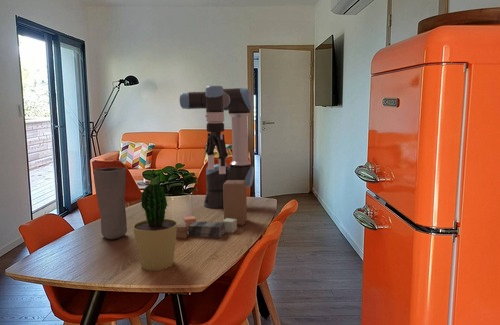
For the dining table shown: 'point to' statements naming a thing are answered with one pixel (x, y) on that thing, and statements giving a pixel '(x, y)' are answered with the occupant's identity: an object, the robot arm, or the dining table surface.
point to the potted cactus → (155, 231)
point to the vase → (111, 201)
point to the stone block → (207, 229)
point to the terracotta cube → (189, 220)
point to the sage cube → (230, 225)
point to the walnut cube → (181, 231)
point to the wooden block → (235, 200)
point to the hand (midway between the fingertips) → (216, 171)
